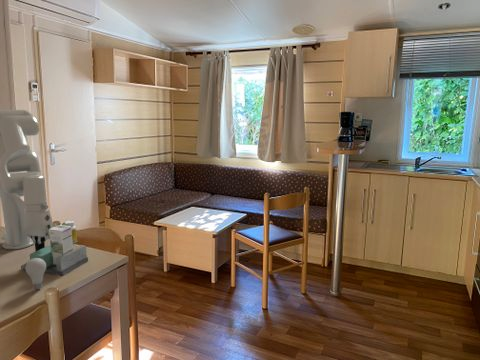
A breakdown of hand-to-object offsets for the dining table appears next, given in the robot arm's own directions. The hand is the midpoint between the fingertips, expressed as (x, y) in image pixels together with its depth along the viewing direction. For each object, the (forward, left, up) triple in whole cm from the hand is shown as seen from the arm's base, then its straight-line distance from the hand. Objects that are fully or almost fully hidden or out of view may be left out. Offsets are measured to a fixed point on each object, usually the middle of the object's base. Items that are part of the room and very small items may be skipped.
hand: (40, 251), depth 144 cm
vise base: (+8, 0, -5) cm, 9 cm away
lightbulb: (+16, -18, -5) cm, 24 cm away
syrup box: (+11, 0, -4) cm, 11 cm away
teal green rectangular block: (+5, 0, -3) cm, 6 cm away
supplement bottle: (-5, +23, -5) cm, 24 cm away
